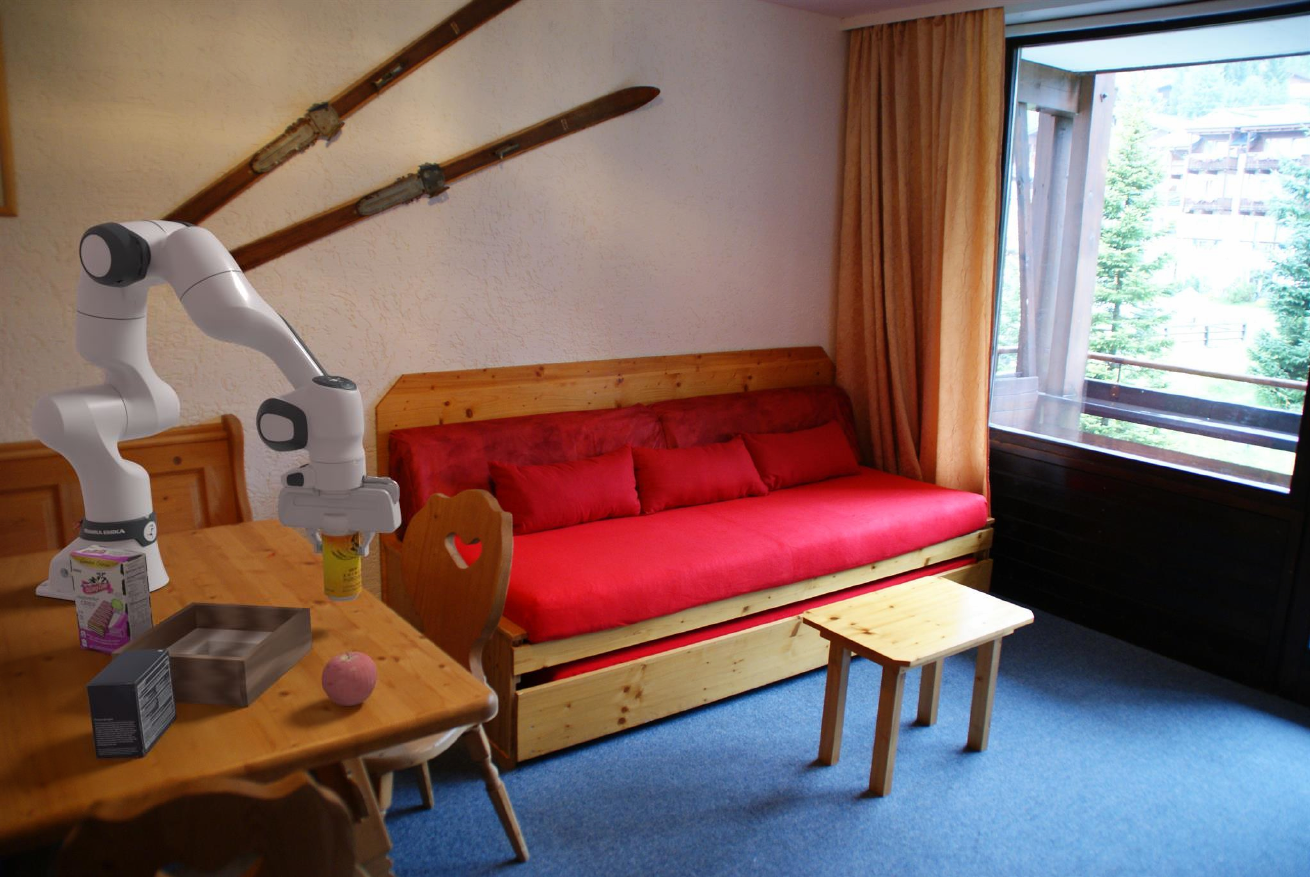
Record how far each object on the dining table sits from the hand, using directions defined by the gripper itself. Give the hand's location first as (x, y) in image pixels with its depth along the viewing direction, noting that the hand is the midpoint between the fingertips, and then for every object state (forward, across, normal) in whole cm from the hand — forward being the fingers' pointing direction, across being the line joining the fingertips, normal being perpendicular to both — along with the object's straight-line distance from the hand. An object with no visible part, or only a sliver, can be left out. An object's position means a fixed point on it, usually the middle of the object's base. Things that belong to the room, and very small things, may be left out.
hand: (341, 553), depth 162 cm
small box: (+13, +11, +39) cm, 43 cm away
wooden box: (+13, +11, +19) cm, 26 cm away
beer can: (+8, 0, 0) cm, 8 cm away
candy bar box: (+14, +32, +13) cm, 38 cm away
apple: (+13, -13, +26) cm, 32 cm away
